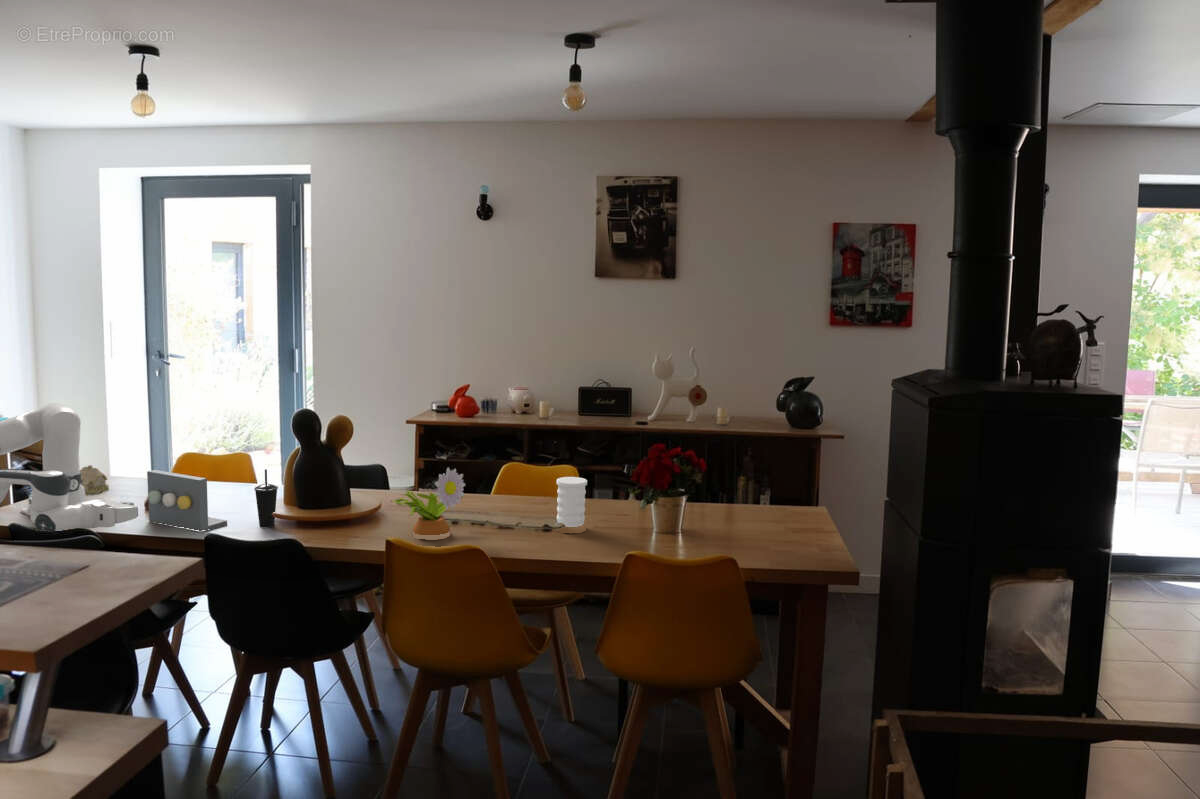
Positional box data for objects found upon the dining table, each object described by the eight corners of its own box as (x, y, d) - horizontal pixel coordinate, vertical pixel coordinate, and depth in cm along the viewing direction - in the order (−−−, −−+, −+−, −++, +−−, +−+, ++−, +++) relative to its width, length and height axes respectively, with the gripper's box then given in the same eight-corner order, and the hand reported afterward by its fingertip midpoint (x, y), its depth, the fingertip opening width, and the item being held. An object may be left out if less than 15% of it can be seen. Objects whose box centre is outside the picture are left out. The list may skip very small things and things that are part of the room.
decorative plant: (427, 549, 284) (427, 474, 280) (377, 535, 297) (377, 463, 294) (484, 531, 306) (485, 461, 302) (434, 519, 319) (435, 452, 316)
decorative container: (558, 535, 305) (559, 484, 302) (551, 525, 316) (552, 477, 313) (590, 533, 308) (591, 483, 305) (582, 524, 319) (583, 476, 316)
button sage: (148, 503, 300) (147, 490, 300) (153, 501, 302) (153, 489, 301) (157, 504, 298) (156, 492, 298) (162, 503, 300) (162, 490, 300)
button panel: (149, 522, 305) (147, 471, 302) (176, 514, 315) (174, 465, 312) (201, 532, 295) (199, 480, 292) (227, 524, 305) (225, 474, 302)
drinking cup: (254, 529, 300) (252, 472, 297) (256, 523, 307) (255, 467, 305) (277, 528, 302) (276, 471, 299) (279, 522, 309) (278, 466, 307)
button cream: (162, 505, 297) (162, 493, 297) (167, 504, 299) (167, 491, 298) (172, 507, 295) (171, 494, 295) (177, 506, 297) (176, 493, 297)
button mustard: (177, 508, 294) (177, 495, 294) (182, 507, 296) (182, 494, 296) (186, 510, 293) (186, 497, 292) (191, 509, 294) (191, 496, 294)
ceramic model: (116, 489, 349) (115, 464, 347) (90, 495, 338) (89, 470, 337) (90, 485, 354) (89, 461, 352) (64, 491, 343) (63, 466, 342)
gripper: (70, 518, 283) (109, 509, 296) (114, 528, 275) (152, 518, 287) (69, 499, 282) (109, 491, 295) (113, 508, 274) (152, 499, 287)
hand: (131, 504), depth 291 cm, fingers closed
